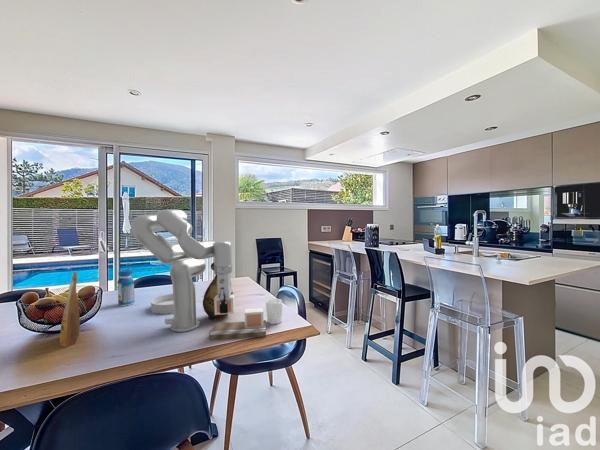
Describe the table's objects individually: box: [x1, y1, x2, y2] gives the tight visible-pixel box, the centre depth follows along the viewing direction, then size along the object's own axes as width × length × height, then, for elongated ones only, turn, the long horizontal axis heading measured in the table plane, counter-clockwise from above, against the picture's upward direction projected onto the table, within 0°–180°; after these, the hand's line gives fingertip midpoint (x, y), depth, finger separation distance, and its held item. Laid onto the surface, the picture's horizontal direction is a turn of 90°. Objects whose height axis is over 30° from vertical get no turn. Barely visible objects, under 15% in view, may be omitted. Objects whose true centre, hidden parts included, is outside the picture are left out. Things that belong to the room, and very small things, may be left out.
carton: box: [244, 307, 265, 329], centre depth 128 cm, size 8×5×7 cm, turn 97°
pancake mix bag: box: [59, 270, 81, 348], centre depth 121 cm, size 7×19×28 cm, turn 30°
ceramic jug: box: [202, 261, 235, 322], centre depth 146 cm, size 17×15×30 cm
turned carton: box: [214, 294, 236, 315], centre depth 126 cm, size 8×5×7 cm, turn 97°
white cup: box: [265, 298, 283, 325], centre depth 138 cm, size 8×8×10 cm
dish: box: [150, 293, 174, 315], centre depth 163 cm, size 22×22×5 cm
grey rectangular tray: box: [209, 319, 267, 341], centre depth 127 cm, size 23×13×3 cm, turn 97°
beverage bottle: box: [116, 268, 136, 307], centre depth 169 cm, size 8×8×20 cm
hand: (224, 310), depth 127 cm, fingers closed on turned carton, 5 cm apart
